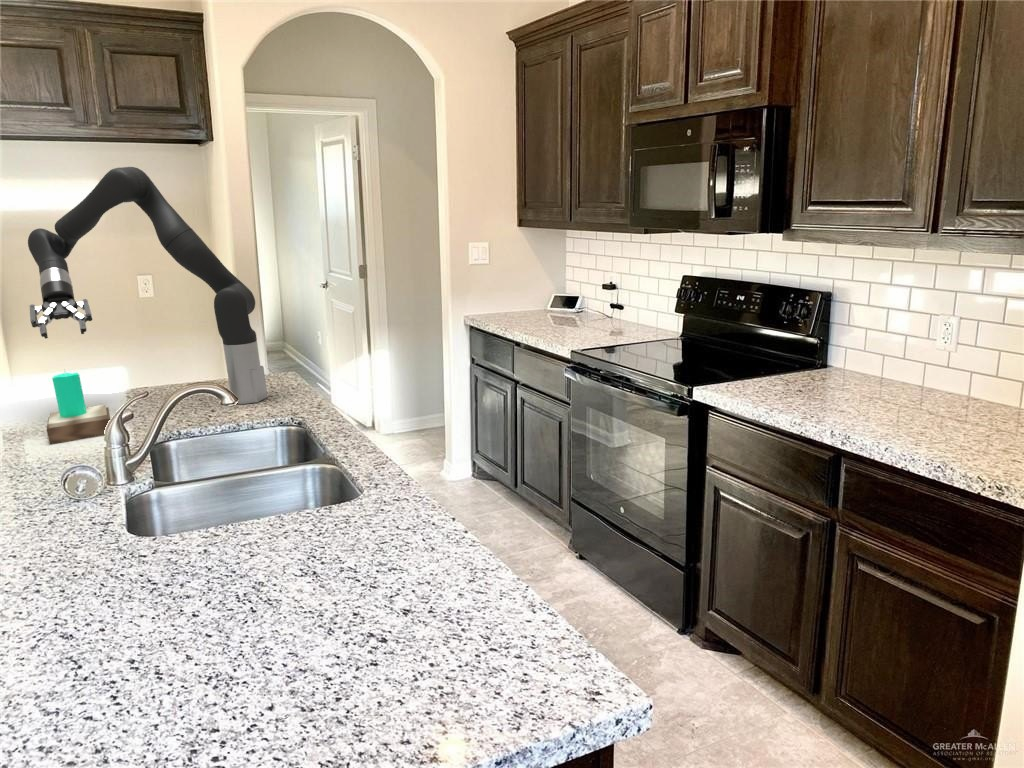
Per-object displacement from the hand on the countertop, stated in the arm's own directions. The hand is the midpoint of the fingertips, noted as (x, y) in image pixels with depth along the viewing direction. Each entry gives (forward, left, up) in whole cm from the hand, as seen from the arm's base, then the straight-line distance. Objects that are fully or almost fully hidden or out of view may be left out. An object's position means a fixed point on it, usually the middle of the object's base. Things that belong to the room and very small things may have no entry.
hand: (64, 334), depth 201 cm
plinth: (-8, +9, -24) cm, 27 cm away
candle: (-6, +9, -20) cm, 23 cm away
